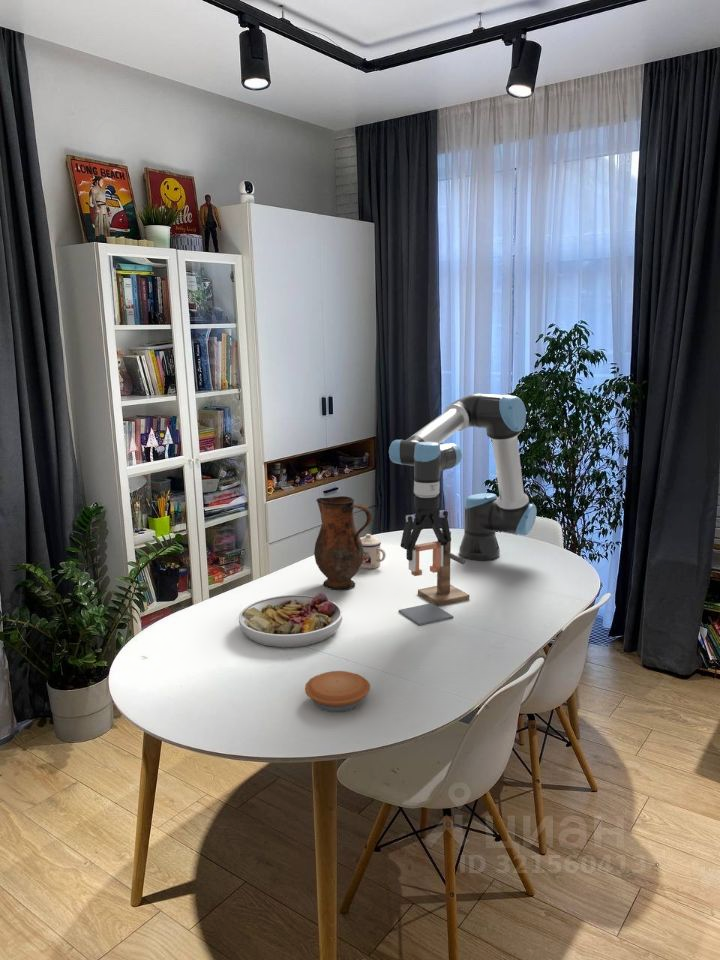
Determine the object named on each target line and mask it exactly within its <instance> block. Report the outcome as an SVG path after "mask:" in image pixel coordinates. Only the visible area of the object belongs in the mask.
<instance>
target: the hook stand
mask: <svg viewBox="0 0 720 960" xmlns="http://www.w3.org/2000/svg"><path fill="white" fill-rule="evenodd" d="M440 530H441V532H442V529H440ZM442 534H443V533H442ZM450 535H451V536H452V531H450ZM437 541H438V540H437ZM438 542H439V541H438ZM447 543H448V544H447V545H446V546H445V555H443V566H442V567H441V566H440V572H436V585H433V586H429V587H424V588H420V589H418V588H417V595H419V596H420V597H422V598H423V599H425V600H427V601H429V602H430V603H433V604H434V605H436V606H438V607H441V606H445V605H448V604H449V605H450V604H454V603H458V602H463V601H468V600H470V594H468V593H467V592H465V591H463V590H461V589H460V588H458V587H456V586H454V585H452V584H451V560H453V561H455V562H457V563H459V564H461V565H464V564H465V563H466V559H464V558H463V557H460V556H458V555H456V554H454V553H452V552H451V550H452V549H451V546H452V544H451V542H447Z"/></svg>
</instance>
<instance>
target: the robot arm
mask: <svg viewBox="0 0 720 960" xmlns="http://www.w3.org/2000/svg"><path fill="white" fill-rule="evenodd" d="M526 418H527V409H526V406H525V404H524V402H523V401H522V399H521V398H520V397H518V396H516V395H510V394H492V393H491V394H489V393H488V394H487V393H472V394H469V395H466V396H464V397H461V398H459V399H457V400H455V401H453V402H452V403H450V404H448V405H447V406H446V407H445V409H444V411H443V413H441V414H440V415H439V416H437V417H436V418H434V419H433V420H431V421H430V422H429V423H428V424H426V425H425V426H423V427H422V428H420V429H419V430H418V431H416V432H415V433H414V434H412V435H411V436H410V437H408V438H407V439H405V440H404V439H395V440H393V441H392V442H391V443H390V444H389V445H390V446H389V449H388V454H389V456H388V457H389V459H390V461H391V462H392V463H394V464H397V465H402V466H403V465H405V466H412V467H414V468H413V473H414V477H413V478H414V479H413V494H414V496H413V509H414V511H413V514H405V515H404V528H403V531H402V536H401V541H400V547H401V548H402V549H404V550H406V555H405V556H406V560H407V561H408V570H410V571H413V572H415V565H416V550H414V549H413V548H414V546H415V545H417V544H416V543H417V541H418V539H419V537H420V534H421V531H423V530H424V527H428V526H430V527H431V528H432V531H433V533H434V534H435V537H436V539H437V541H439V542H440V543H441V559H440V566H441V567H442V566H443V555H445V546H446V545H447V544H448V543H447V542H451V541H452V534H451V535H450V532H451V531H450V526H449V521H448V520H449V519H448V516H449V512H448V511H447V510H445V509H439V507H440V498H441V497H440V495H439V494H440V486H441V485H440V484H441V483H440V482H441V481H440V480H441V479H440V478H441V472H442V471H446V470H449V469H453V468H454V467H457V466H458V465H459V464H460V463H461V460H462V456H463V454H462V450H461V448H460V446H458V445H457V444H456V443H453V442H445V443H443V442H444V441H445V440H447V439H448V438H450V437H451V436H452V435H453V434H455V433H456V432H457V431H463V430H465V429H467V428H479V429H480V428H481V429H486V430H485V431H486V435H487V437H488V439H490V440H491V441H492V447H493V448H492V449H493V455H494V463H495V464H494V465H495V471H496V479H497V488H498V494H499V496H497V494H495V493H492V492H485V493H483V492H482V493H476V494H471V495H468V496H467V497H466V498H465V500H464V501H465V502H464V509H463V510H464V525H463V526H464V532H463V533H464V535H463V537H462V540H461V542H460V543H461V544H460V545H459V556H461V558H463V559H464V558H465V559H468V560H473V561H489V560H494V559H495V560H496V559H497V558H498V557H500V553H501V550H500V546H499V543H498V539H497V537H496V536H497V535H496V534H497V533H496V532H501V533H506V534H513V535H515V536H517V535H518V536H526V535H528V534H530V533H531V531H532V530H533V528H534V526H535V522H536V518H537V512H538V511H537V506H536V505H535V504H533V503H530V500H529V499H530V498H529V496H528V495H527V493H525V492H524V484H523V477H522V476H523V475H522V474H523V473H522V466H521V458H520V457H521V456H520V449H519V440H518V436H519V435H520V434H521V433H522V430H523V429H524V428H525V426H526V422H527V420H526ZM438 517H439V521H440V524H439V522H438ZM440 527H441V528H440ZM441 530H442V532H441ZM442 533H443V534H442Z"/></svg>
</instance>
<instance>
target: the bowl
mask: <svg viewBox="0 0 720 960" xmlns="http://www.w3.org/2000/svg"><path fill="white" fill-rule="evenodd" d="M342 620H343V610H342V608H341V607H340V606H339V605H338V604H337V602H334V601H332V600H329V599H328V596H327V595H326V594H325V593H322V592H320V593H316V594H315V595H303V594H288V595H280V596H279V595H277V596H272V597H267V598H264V599H261V600H257V601H255V602H253V603H251V604H249V605H247V606H246V607H244V608H243V609H242V610H241V612H240V613H239V615H238V624H239V628H240V629H241V631H242V633H243V634H244V635H245V636H246V637H247V638H248V639H250V640H251V641H253V642H255V643H258V644H261V645H264V646H266V647H267V646H268V647H273V648H298V647H304V646H310V645H313V644H318V643H319V642H322V641H324V640H327V639H328V638H329V637H331V636H332V635H333V634H335V633H336V632H337V631H338V630H339V628H340V626H341V624H342Z"/></svg>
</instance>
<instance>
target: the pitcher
mask: <svg viewBox="0 0 720 960" xmlns="http://www.w3.org/2000/svg"><path fill="white" fill-rule="evenodd" d="M316 502H317V505H318V509H319V512H320V518H321V519H320V520H321V526H320V530H319V532H318V536H317V538H316V541H315V545H314V549H313V550H314V552H313V555H314V560H315V565H316V566H317V567H318V569H319V571H320V572H321V573H322V574H323V575H324V576H325V577H326V579H325V580H324V581H323V586H324V587H325V588H327V589H329V590H332V591H348V590H351V589H354V588H355V587H356V582H355V581H354V580H352V578H353V577H354V576H356V575H357V573H358V572H359V570H360V566H361V564H362V562H363V556H364V549H363V545H362V541H361V537H360V533H362V531H363V530H365V528H367V527H368V526H369V525H370V524H371V521H372V513H371V511H370V509H369V508H368V507H367V506H365V505H363V504H360V503H358V504H356V503H355V504H354V502H355V499H354V498H352V497H349V496H343V495H341V496H333V497H332V496H331V497H319V498H317V499H316ZM354 508H357V509H360V510H361V511H363V512H364V513H365V515H366V521H365V523H364V524H363V526H362V527H361V528H360V529H358V530H357V527H356V524H355V518H354Z"/></svg>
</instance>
